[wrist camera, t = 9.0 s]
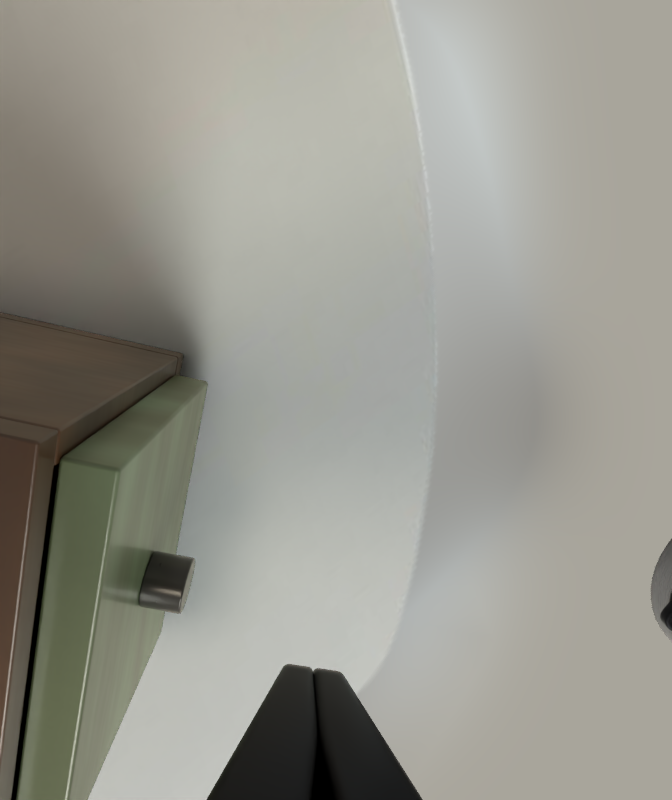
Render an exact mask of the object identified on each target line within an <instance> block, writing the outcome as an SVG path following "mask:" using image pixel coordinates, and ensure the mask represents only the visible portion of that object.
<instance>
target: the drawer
mask: <svg viewBox="0 0 672 800" xmlns="http://www.w3.org/2000/svg"><path fill="white" fill-rule="evenodd" d="M207 385H208V384H207V382H206V381H202V380H198V379H193V378H189V377H184V376H180V375H175V376H173V377H172V378H170V379H169V380H168V381H166V382H165V383H163V384H162V385H161V386H159V387H158V388H157V389H155V390H154V391H152V392H151V393H150V394H148V395H147V396H145V397H144V398H143V399H141V400H140V401H139V402H137V403H136V404H134V405H133V406H132V407H130V408H129V409H128V410H126V411H125V412H123V413H122V414H121V415H119V416H118V417H116V418H115V419H114V420H112V421H111V422H110V423H108V424H107V425H105V426H104V427H103V428H101V429H100V430H98V431H97V432H96V433H94V434H93V435H92V436H90V437H89V438H87V439H86V440H85V441H83V442H82V443H80V444H79V445H78V446H76V447H75V448H74V449H72V450H71V451H69V452H68V453H67V454H65V455H64V456H62V458H61V459H60V462H59V463H58V464H57V465H54V467H53V475H52V483H51V491H50V498H49V506H48V514H47V522H46V530H45V537H44V545H43V553H42V561H41V569H40V577H39V584H38V592H37V600H36V608H35V616H34V624H33V631H32V639H31V647H30V655H29V663H28V671H27V678H26V686H25V694H24V702H23V710H22V718H21V723H22V721H23V720H24V718H25V717H26V715H27V719H26V726H25V734H24V742H23V749H22V757H21V765H20V772H19V780H18V788H17V795H16V800H88V797H89V795H90V793H91V790H92V788H93V786H94V784H95V781H96V779H97V777H98V774H99V772H100V770H101V768H102V765H103V763H104V761H105V759H106V756H107V754H108V752H109V749H110V747H111V745H112V743H113V740H114V738H115V736H116V733H117V731H118V729H119V727H120V724H121V722H122V720H123V717H124V715H125V713H126V711H127V708H128V706H129V704H130V702H131V699H132V697H133V695H134V692H135V690H136V688H137V686H138V683H139V681H140V679H141V676H142V674H143V672H144V670H145V667H146V665H147V663H148V660H149V658H150V656H151V654H152V651H153V649H154V647H155V645H156V642H157V640H158V638H159V635H160V633H161V630H162V625H163V619H164V614H165V611H166V612H172V613H177V614H180V613H181V612H182V610H183V608H184V606H185V603H186V600H187V597H188V593H189V590H190V586H191V582H192V578H193V573H194V568H195V559H194V558H191V557H186V556H180V555H176V550H177V545H178V540H179V534H180V529H181V524H182V518H183V513H184V508H185V502H186V497H187V492H188V486H189V481H190V476H191V470H192V465H193V460H194V455H195V449H196V444H197V439H198V433H199V428H200V423H201V417H202V412H203V407H204V401H205V396H206V391H207Z"/></svg>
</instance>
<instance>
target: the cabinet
mask: <svg viewBox="0 0 672 800" xmlns="http://www.w3.org/2000/svg"><path fill="white" fill-rule="evenodd" d="M182 360H183V354H182V353H178V352H173V351H169V350H164V349H160V348H156V347H151V346H147V345H142V344H138V343H133V342H129V341H125V340H120V339H116V338H111V337H107V336H103V335H98V334H94V333H89V332H85V331H80V330H76V329H72V328H67V327H63V326H58V325H54V324H49V323H45V322H41V321H36V320H32V319H27V318H23V317H19V316H14V315H10V314H5V313H1V312H0V800H16V795H17V788H18V780H19V772H20V765H21V757H22V749H23V742H24V734H25V726H26V719H27V715H26V717H25V718H24V720H23V721H22V723H21V718H22V710H23V702H24V694H25V686H26V678H27V671H28V663H29V655H30V647H31V639H32V631H33V624H34V616H35V608H36V600H37V592H38V584H39V577H40V569H41V561H42V553H43V545H44V537H45V530H46V522H47V514H48V506H49V498H50V491H51V483H52V475H53V467H54V465H57V464H58V463H59V462H60V459H61V458H62V456H64V455H65V454H67V453H68V452H69V451H71V450H72V449H74V448H75V447H76V446H78V445H79V444H80V443H82V442H83V441H85V440H86V439H87V438H89V437H90V436H92V435H93V434H94V433H96V432H97V431H98V430H100V429H101V428H103V427H104V426H105V425H107V424H108V423H110V422H111V421H112V420H114V419H115V418H116V417H118V416H119V415H121V414H122V413H123V412H125V411H126V410H128V409H129V408H130V407H132V406H133V405H134V404H136V403H137V402H139V401H140V400H141V399H143V398H144V397H145V396H147V395H148V394H150V393H151V392H152V391H154V390H155V389H157V388H158V387H159V386H161V385H162V384H163V383H165V382H166V381H168V380H169V379H170V378H172V377H173V376H175V375H180V371H181V366H182Z"/></svg>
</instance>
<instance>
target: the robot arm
mask: <svg viewBox="0 0 672 800" xmlns="http://www.w3.org/2000/svg"><path fill="white" fill-rule="evenodd" d="M660 619H661V621H662V622H663V623H664V625H665V626H666V627H667V628H668V629H669V630H671V631H672V600H671V601H670V602H669V603H668V604H667V605H666V606H665V608H664V609H663V610H662V612H661V614H660ZM207 800H422V798H421V797H420V795H419V793H418V792H417V790H416V789H415V787H414V786H413V784H412V782H411V781H410V779H409V778H408V776H407V775H406V773H405V771H404V770H403V768H402V767H401V765H400V763H399V762H398V760H397V759H396V757H395V756H394V754H393V752H392V751H391V749H390V748H389V746H388V745H387V743H386V741H385V740H384V738H383V737H382V735H381V734H380V732H379V730H378V729H377V727H376V726H375V724H374V722H373V721H372V719H371V718H370V716H369V715H368V713H367V712H366V710H365V708H364V707H363V705H362V704H361V702H360V700H359V699H358V698H357V696H356V694H355V692H354V691H353V689H352V688H351V686H350V685H349V683H348V681H347V680H346V678H345V677H344V675H343V674H342V673H341V672H338V671H333V670H326V669H319V668H317V669H315V670H314V671H312V669H311V668H310V667H306V666H299V665H292V664H287V665H285V666H284V667H283V668H282V670H281V672H280V673H279V675H278V677H277V679H276V680H275V682H274V684H273V686H272V687H271V689H270V691H269V693H268V694H267V696H266V698H265V699H264V701H263V703H262V705H261V706H260V708H259V710H258V712H257V713H256V715H255V717H254V719H253V720H252V722H251V724H250V725H249V727H248V729H247V731H246V732H245V734H244V736H243V738H242V739H241V741H240V743H239V744H238V746H237V748H236V750H235V751H234V753H233V755H232V757H231V758H230V760H229V762H228V764H227V765H226V767H225V769H224V770H223V772H222V774H221V776H220V777H219V779H218V781H217V783H216V784H215V786H214V788H213V790H212V791H211V793H210V795H209V796H208V798H207Z"/></svg>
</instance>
